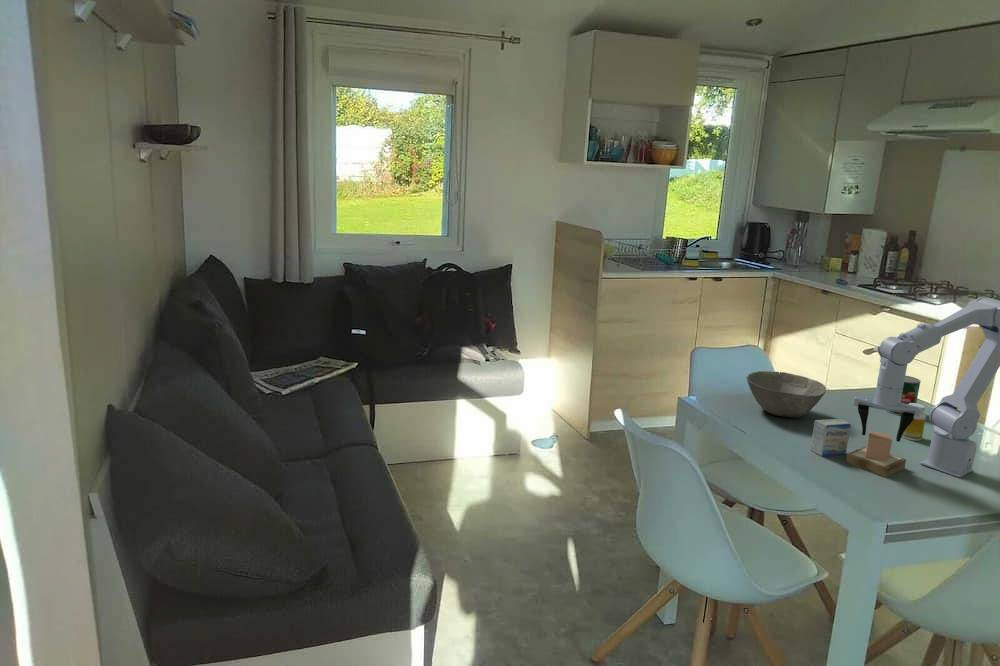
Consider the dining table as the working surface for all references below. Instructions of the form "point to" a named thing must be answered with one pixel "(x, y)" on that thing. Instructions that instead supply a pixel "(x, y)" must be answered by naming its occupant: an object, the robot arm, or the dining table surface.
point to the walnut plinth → (875, 463)
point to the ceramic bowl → (785, 392)
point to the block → (878, 446)
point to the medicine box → (830, 437)
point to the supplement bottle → (916, 425)
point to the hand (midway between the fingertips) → (880, 437)
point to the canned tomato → (909, 392)
